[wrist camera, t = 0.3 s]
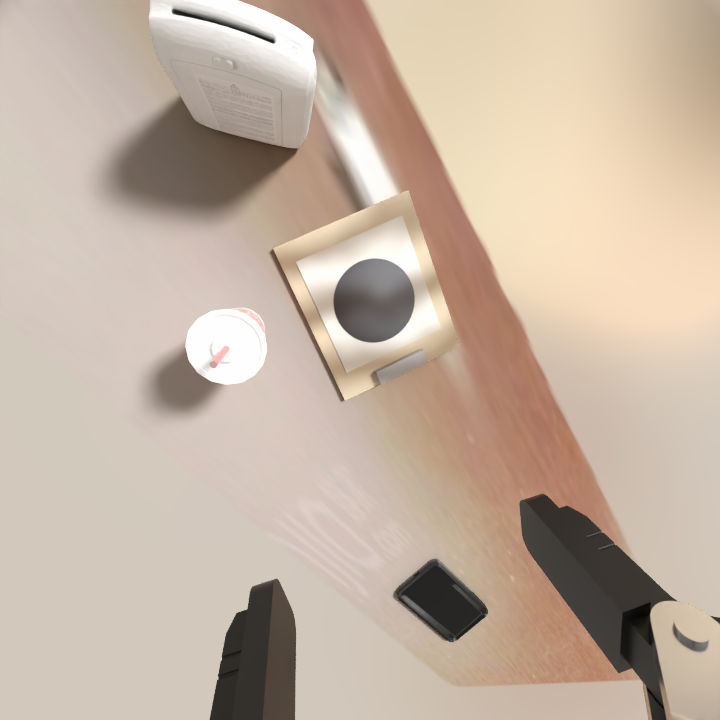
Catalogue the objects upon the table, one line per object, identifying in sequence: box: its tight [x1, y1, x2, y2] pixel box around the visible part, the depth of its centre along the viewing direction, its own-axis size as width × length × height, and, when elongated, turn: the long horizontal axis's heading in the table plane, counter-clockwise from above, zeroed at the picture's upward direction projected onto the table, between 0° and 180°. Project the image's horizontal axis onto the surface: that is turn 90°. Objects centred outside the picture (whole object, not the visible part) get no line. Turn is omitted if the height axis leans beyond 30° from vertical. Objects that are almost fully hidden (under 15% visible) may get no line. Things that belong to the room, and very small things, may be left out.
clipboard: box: [273, 190, 460, 400], centre depth 37 cm, size 18×15×1 cm
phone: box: [397, 559, 488, 642], centre depth 51 cm, size 8×1×15 cm
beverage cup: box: [185, 308, 267, 385], centre depth 29 cm, size 6×6×14 cm
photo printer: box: [149, 0, 317, 148], centre depth 25 cm, size 10×4×12 cm, turn 80°
